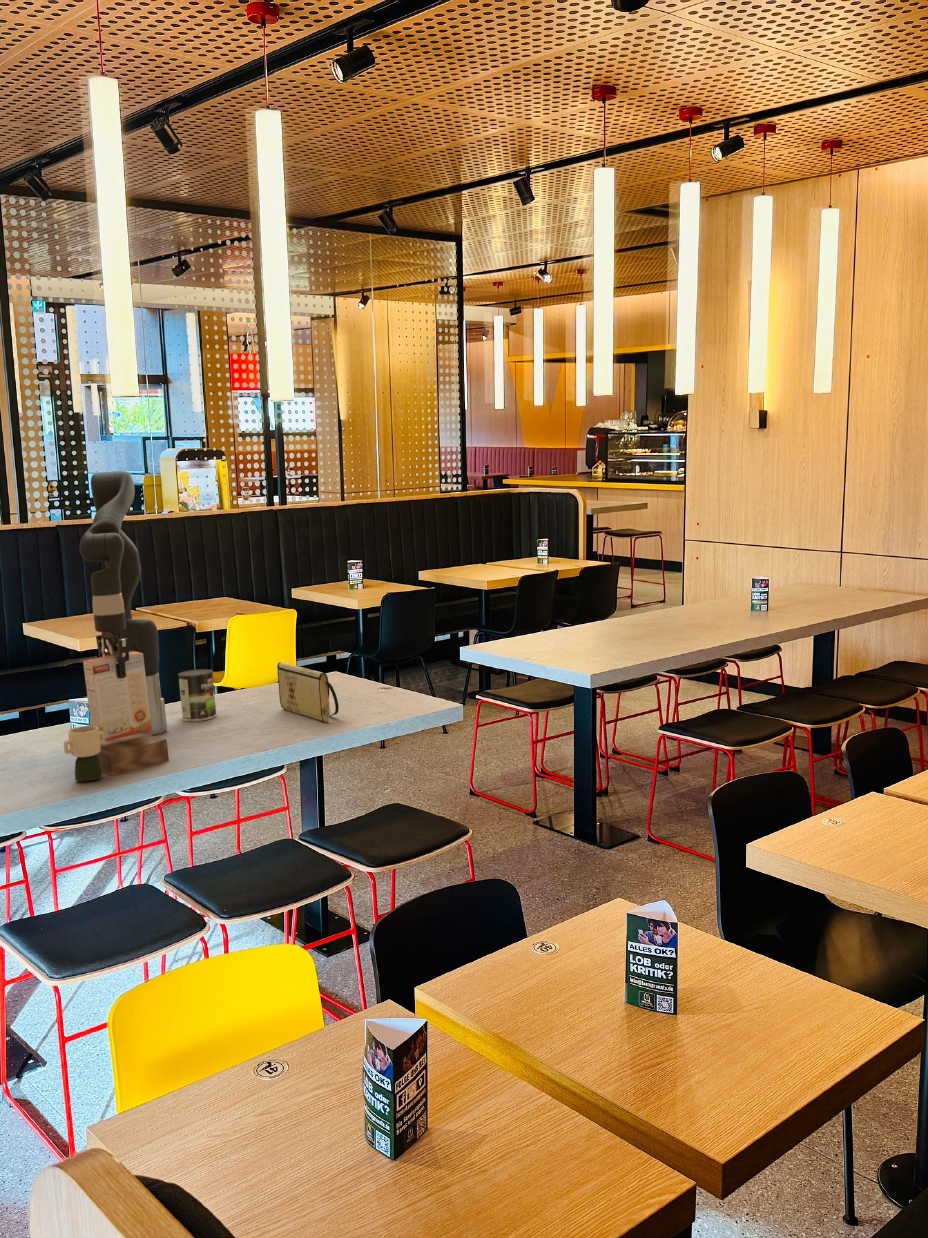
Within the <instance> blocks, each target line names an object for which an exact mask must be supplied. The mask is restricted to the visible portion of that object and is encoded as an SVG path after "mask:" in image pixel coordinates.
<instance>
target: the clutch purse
mask: <svg viewBox="0 0 928 1238" xmlns="http://www.w3.org/2000/svg"><path fill="white" fill-rule="evenodd" d="M276 668H277V681H278V697H279V703H280V707H281V709H283V710H287V711H290V712H293V713H296V714H299V715H302V716H305V717H309V718H312V719H315V720H318V721H321V722H324V723H326V724H327V723H328V722H329V720H330V716H335V715H337V714H338V713H339V711H340V709H339V701H338V697H337V693H336V691H335V689H334V687H333V686H332V684H331V683H330V682H329V678H328V675H327V674H326V672H321V671H318V670H314V669H310V668H307V667H302V666H299V665H298V666H297V665H294V664H290V663H286V662H282V661H279V662H278V663H277V667H276ZM330 693H331V695H332V697H333V701H334V706H335V711H334V713H332V714H330V713H331V712H330Z"/></svg>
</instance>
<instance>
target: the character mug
mask: <svg viewBox="0 0 928 1238" xmlns="http://www.w3.org/2000/svg"><path fill="white" fill-rule="evenodd" d="M67 735H68V739H67V740H65V741H63V750H64V754H65V755H68V754H70V755H71V756H72V757H75V758H76V759H75V762H74V764H75V765H74V767H75V768H74V779H75V780H74V781H81V782H87V781H89V782H90V781H95V780H98V779H100V778H101V777H102V776H103V773H102V772H101V768H100V764H99V760H98V757H97V756H96V754H98V753H99V752H100V750H101V746H100V745H102V744H104V743H105V734H104V732H103V731H101V732H99V728H98V727H97V726H91V725H83V726H81V725H80V726H77V727H72V728H70V729H68V734H67ZM99 736H101V741H100V737H99Z"/></svg>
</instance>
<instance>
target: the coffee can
mask: <svg viewBox="0 0 928 1238" xmlns="http://www.w3.org/2000/svg"><path fill="white" fill-rule="evenodd" d="M177 677H178V683H179V695H180V704H181V713H182V714H181V715H182V721H184V722H185V721H186V722H202V721H203V722H204V721H208V720H212V719H214V718H216V717H217V716H218V715H217V708H216V696H215V686H214V685H215V683H214V670H212V669H209V668H206V669H205V668H203V669H202V668H201V669H199V668H198V669H190V670H185V671H181V672H179V673H177Z"/></svg>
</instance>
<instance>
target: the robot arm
mask: <svg viewBox="0 0 928 1238" xmlns="http://www.w3.org/2000/svg"><path fill="white" fill-rule="evenodd" d="M135 488H136V487H135V483H134V478H133V476H132V475H131V473H129V472H128V471H127V470H126V471H125V470H124V471H123V470H117V471H106V472H104V471H103V472H97V473H93V474H92V475H91V478H90V490H91V495H92V499H93V500H92V501H93V504H94V508H95V509H94V510H95V512H96V513H95V514H94V517H93V521H92V524H91V526H90V527H88V529H87V531H86V532H84V534H83V535H82V536H81V539H80V542H79V547H78V548H79V554H80V556H81V558H83V560H84V561H86V562H89V563H90V562H91V563H97V562H100V563H101V562H104V564H105V569H101V570H97V571H95V572H93V573H92V574H91V575H90V584H91V594H92V613H93V622H94V630H95V632H97V633H101V634H97V635H96V636H95V639H96V646H97V651H98V658H100V657H105V656H113V657H114V660H115V663H116V673H117V678H125V677H126V669H125V663H126V661H129V652H133V651H134V652H138V653H143V657H144V666H145V675H146V684H147V693H148V701H149V711H150V720H151V729H152V730H150V731H146V732H142V733H144V734H148V735H152V736H156V735H158V734H161V733H163V732H165V731H168V724H167V716H166V715H167V714H166V704H165V699H164V698H163V697H162V693H161V684H160V674H159V665H160V648H159V647H160V646H159V631H158V628H157V625H156V623H155V622H154V621H153V620H151V619H148V618H143V619H142V618H138V619H136V618H135V619H134V618H133V617H132V599H133V595H134V593H135V591H136V588H137V586H138V584H139V582H140V579H141V574H142V567H141V562H140V557H139V550H138V548H137V546H136V545H135V544H134V543H133V541H132V540H131V539H130V538H129V537H128V536H127V534H126V533H125V532H124V531H123V530H122V524H123V520H124V518H125V517H126V514H127V513H128V511H129V510H130V508H131V506H132V504H133V502H134V500H135V494H136V489H135ZM124 653H125V655H124ZM117 655H118V657H117Z"/></svg>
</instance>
